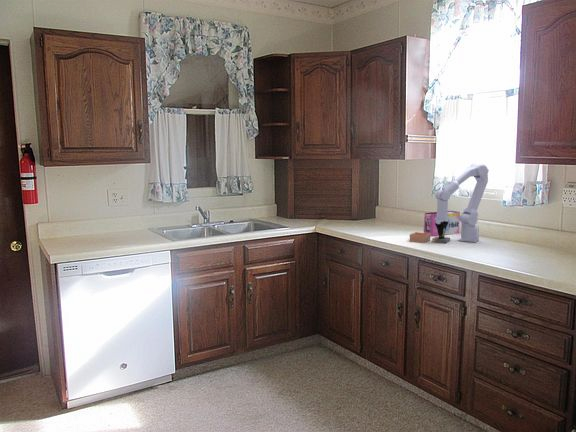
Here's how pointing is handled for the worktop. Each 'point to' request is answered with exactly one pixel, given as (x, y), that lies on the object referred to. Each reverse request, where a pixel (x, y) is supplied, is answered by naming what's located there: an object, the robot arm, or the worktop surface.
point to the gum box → (452, 219)
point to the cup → (420, 237)
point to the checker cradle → (441, 240)
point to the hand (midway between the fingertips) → (441, 234)
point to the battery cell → (442, 235)
